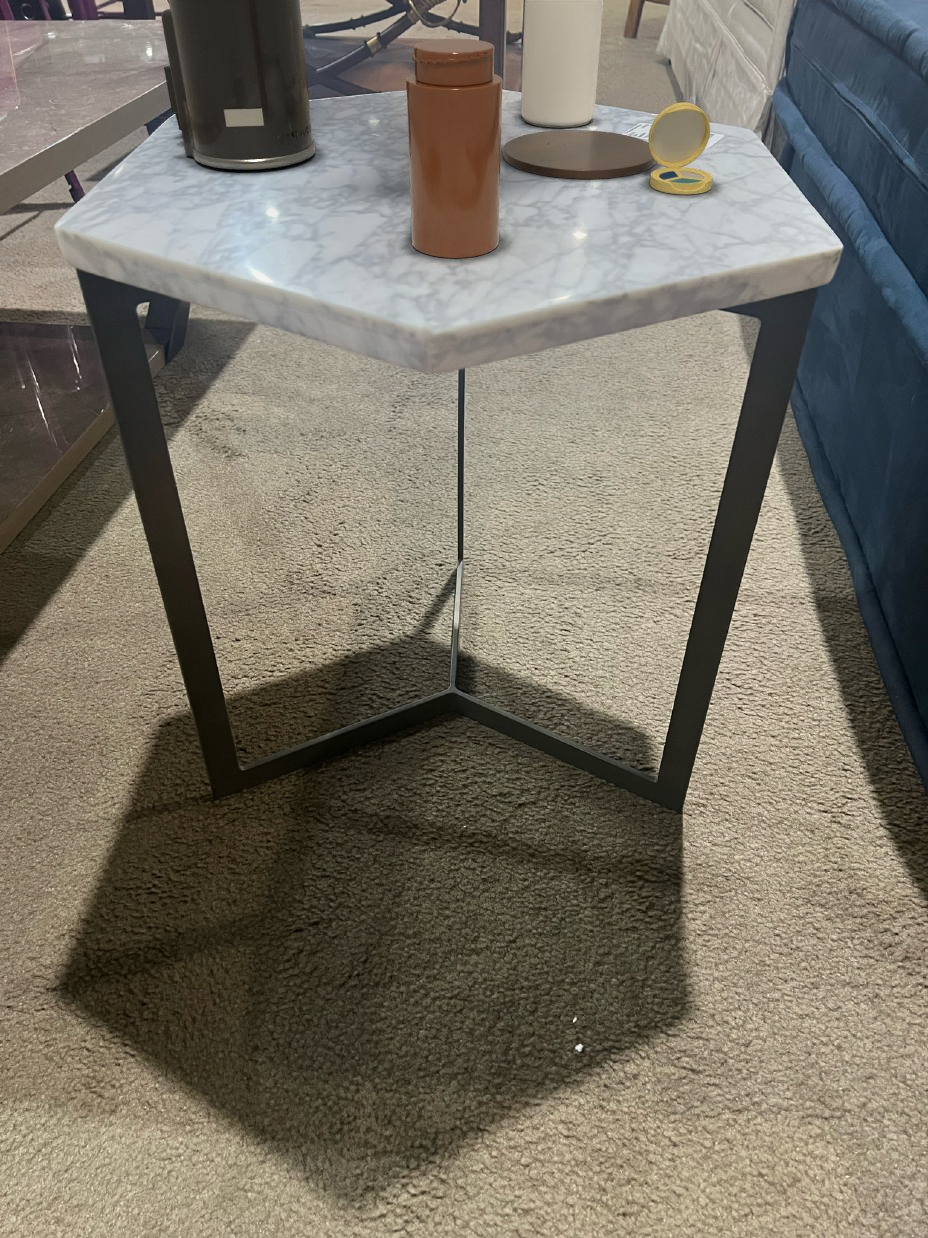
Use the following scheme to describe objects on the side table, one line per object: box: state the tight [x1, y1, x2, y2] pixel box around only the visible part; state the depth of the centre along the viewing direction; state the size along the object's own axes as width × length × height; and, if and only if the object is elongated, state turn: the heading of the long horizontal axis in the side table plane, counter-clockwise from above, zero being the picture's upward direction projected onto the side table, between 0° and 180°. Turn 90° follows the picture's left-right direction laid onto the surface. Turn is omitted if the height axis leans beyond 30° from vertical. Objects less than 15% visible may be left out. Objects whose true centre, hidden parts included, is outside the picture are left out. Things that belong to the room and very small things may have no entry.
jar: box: [405, 38, 503, 259], centre depth 54 cm, size 5×5×11 cm
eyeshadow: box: [648, 101, 714, 195], centre depth 66 cm, size 4×5×5 cm
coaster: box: [502, 129, 657, 180], centre depth 73 cm, size 12×12×1 cm
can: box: [520, 0, 604, 129], centre depth 78 cm, size 6×6×12 cm
